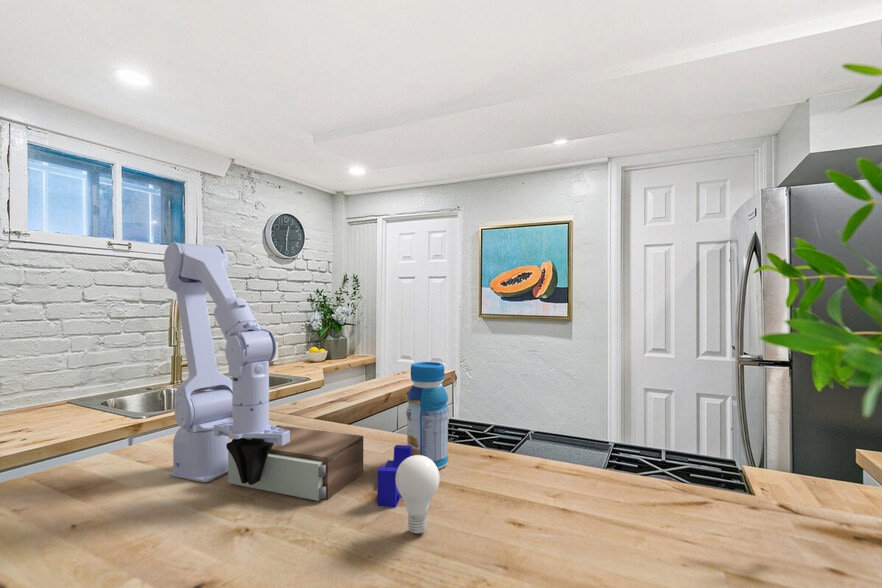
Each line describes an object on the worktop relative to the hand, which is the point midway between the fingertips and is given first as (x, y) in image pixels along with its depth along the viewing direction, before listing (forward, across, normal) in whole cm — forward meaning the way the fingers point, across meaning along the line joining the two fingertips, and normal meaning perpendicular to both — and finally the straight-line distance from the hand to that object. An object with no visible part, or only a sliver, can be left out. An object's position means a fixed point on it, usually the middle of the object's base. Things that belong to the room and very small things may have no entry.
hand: (251, 481), depth 76 cm
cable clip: (+3, +21, +10) cm, 24 cm away
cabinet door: (+2, +3, +2) cm, 4 cm away
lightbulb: (+2, +31, -1) cm, 31 cm away
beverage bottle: (+2, +23, +23) cm, 33 cm away
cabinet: (+2, +3, +9) cm, 10 cm away
